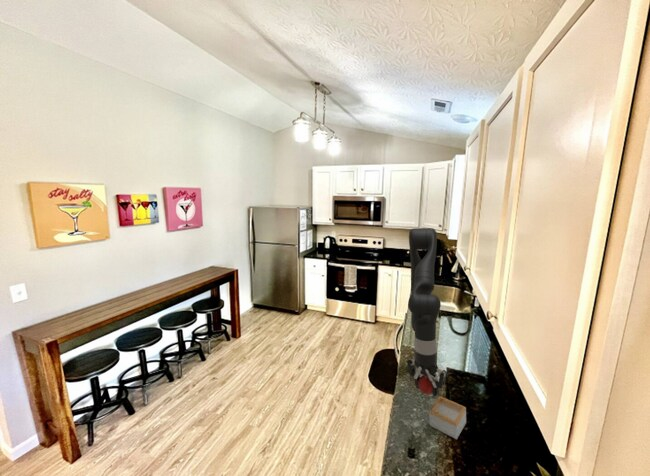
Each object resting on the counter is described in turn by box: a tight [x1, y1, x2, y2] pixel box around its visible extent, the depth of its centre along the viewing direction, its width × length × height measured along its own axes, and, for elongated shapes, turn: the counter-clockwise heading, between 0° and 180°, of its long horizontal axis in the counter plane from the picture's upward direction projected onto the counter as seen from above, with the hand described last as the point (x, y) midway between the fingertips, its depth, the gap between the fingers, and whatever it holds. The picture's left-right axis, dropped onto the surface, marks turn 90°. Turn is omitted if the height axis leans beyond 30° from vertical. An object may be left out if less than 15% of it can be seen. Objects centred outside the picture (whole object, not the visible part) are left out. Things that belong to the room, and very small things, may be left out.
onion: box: [418, 375, 433, 396], centre depth 100 cm, size 6×6×8 cm
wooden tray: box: [428, 395, 467, 440], centre depth 106 cm, size 13×10×6 cm
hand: (426, 390), depth 100 cm, fingers closed on onion, 6 cm apart
